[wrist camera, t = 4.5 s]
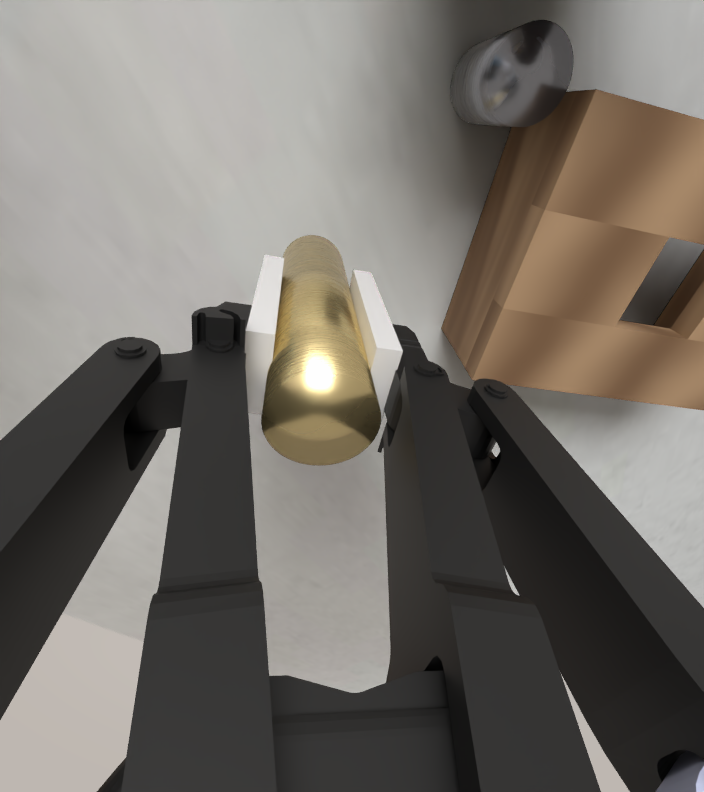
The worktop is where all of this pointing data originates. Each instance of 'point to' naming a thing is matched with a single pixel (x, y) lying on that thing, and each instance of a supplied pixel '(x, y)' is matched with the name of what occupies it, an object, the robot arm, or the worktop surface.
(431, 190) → the worktop surface
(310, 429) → the pin long
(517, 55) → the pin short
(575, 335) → the bridge
